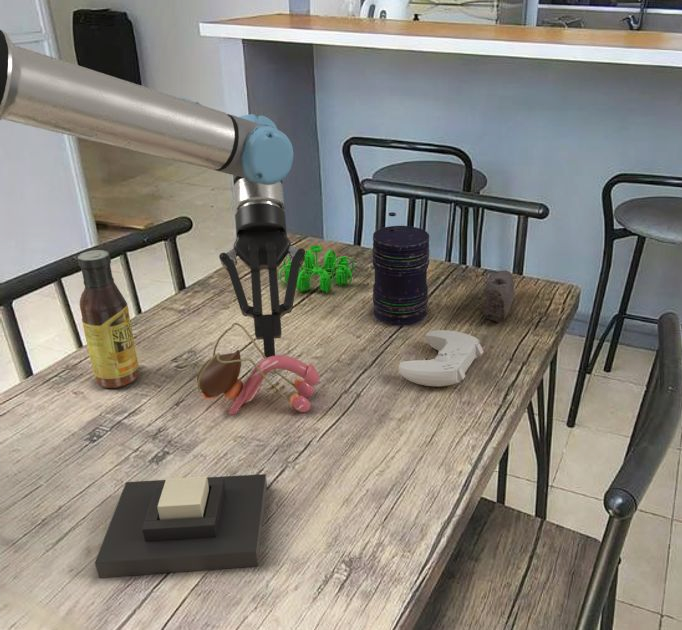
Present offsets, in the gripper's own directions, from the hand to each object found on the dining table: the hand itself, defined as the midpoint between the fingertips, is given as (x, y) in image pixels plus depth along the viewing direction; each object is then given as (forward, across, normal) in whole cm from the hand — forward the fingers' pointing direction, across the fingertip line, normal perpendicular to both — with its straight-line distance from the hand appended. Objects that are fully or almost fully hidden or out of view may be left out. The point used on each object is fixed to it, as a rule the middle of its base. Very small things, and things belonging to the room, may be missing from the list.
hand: (270, 359), depth 99 cm
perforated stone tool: (-10, -41, -17) cm, 46 cm away
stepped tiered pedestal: (+22, +9, +16) cm, 29 cm away
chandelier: (-22, -9, -30) cm, 38 cm away
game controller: (+3, -26, -4) cm, 27 cm away
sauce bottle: (-1, +23, -8) cm, 24 cm away
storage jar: (-11, -23, -18) cm, 31 cm away
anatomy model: (+6, +2, -1) cm, 6 cm away
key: (+20, +9, +18) cm, 29 cm away
